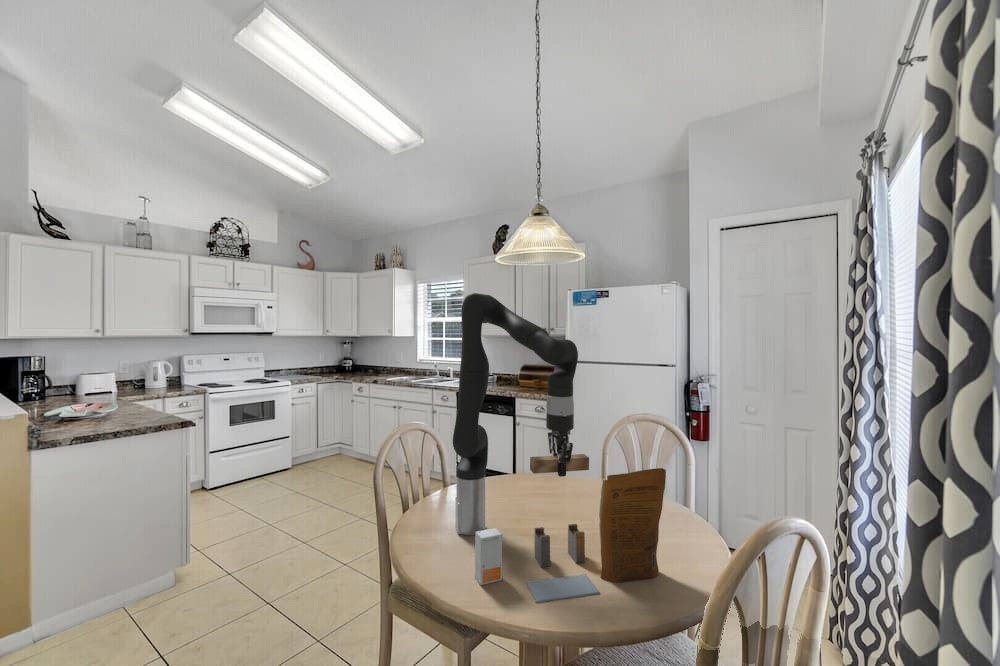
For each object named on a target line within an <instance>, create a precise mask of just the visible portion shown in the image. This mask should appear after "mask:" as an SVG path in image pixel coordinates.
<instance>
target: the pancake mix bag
mask: <svg viewBox="0 0 1000 666" xmlns="http://www.w3.org/2000/svg"><path fill="white" fill-rule="evenodd" d="M666 477H667V469H665V468H662V467H660V468H651V469H650V468H649V469H643V470H636V471H632V472H627V473H619V474H610V475H606V479H603V480H602V484H601V491H600V505H599V513H598V514H599V538H600V539H599V540H600V542H599V543H600V558H601V559H600V561H601V572H600V579H602V580H605V581H607V582H611V583H624V582H631V581H632V582H634V581H639V580H648V579H655V578H657V576H658V574H659V572H660V570H659V565H658V561H657V560H658V557H657V552H658V551H657V550H658V543H659V538H660V537H659V528H660V520H661V515H662V511H663V504H664V496H665V495H664V494H665V489H666V480H667V478H666Z"/></svg>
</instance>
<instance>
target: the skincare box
mask: <svg viewBox="0 0 1000 666" xmlns="http://www.w3.org/2000/svg"><path fill="white" fill-rule="evenodd" d="M500 531H501V530H499V529H498V528H497V527H495V528H485V530H483V531H477V532H475V535H474V538H475V540H474V544H475V545H474V551H475V552H474V578H475V580H476V581H477V583H478V584H479V586H483V585H487V584H491V583H496V582H501V581H502V580H503V577H502V576H503V533H502V532H500Z"/></svg>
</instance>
